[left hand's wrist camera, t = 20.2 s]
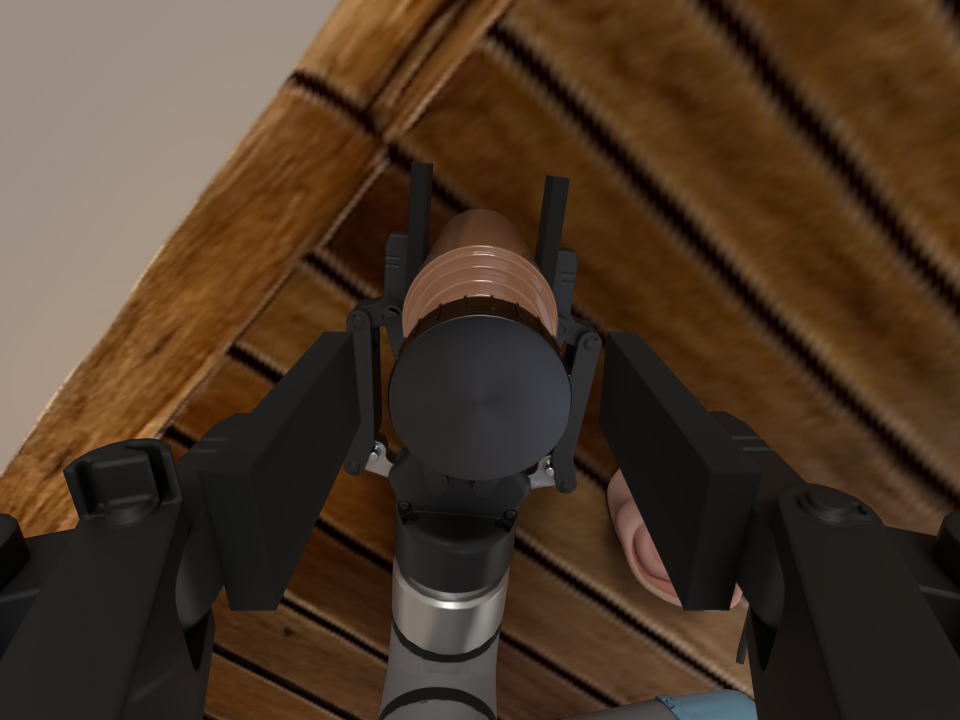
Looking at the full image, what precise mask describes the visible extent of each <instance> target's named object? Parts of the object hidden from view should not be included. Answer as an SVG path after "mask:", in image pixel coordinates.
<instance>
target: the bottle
mask: <svg viewBox="0 0 960 720" xmlns="http://www.w3.org/2000/svg"><path fill="white" fill-rule="evenodd" d="M466 295H467V297H479V296H481V297H490V295H493V296H494V298H498V299H503V300H506V301H509V302H512V303H514V304H515V303H516V302H517V303H519V306H520V307H523V308H524V309H526V310H527V311H529V312H530V313H532V314H533V315H534V316H535V317H537V316H539V317H540V319H541V322H542V323H543V325H544V326H545V327H546V328H547V329H548V331H549V332H550V334H551V335H554V336H555V338H556V335H557V326H558V313H557V306H556V302H555V299H554V295H553V293H552V291H551V288H550V286H549V284H548V282H547V281H546V279H545V277H544V275H543V273H542V272H541V270H540V268H539V266H538V264H537V263H536V261H535V259H534V257H533V255H532V254H531V252H530V250H529V248H528V246H527V245H526V243H525V241H524V239H523V237H522V236H521V234H520V232H519V230H518V229H517V227H516V226H515V225H514V224H513V223H512V222H511V221H510V220H509V219H508V218H506V217H505V216H504V215H502V214H500V213H498V212H495V211H492V210H487V209H473V210H468V211H465V212H462V213H460V214H458V215H456V216H455V217H454V218H452V219H451V220H450V221H449V222H448V223H447V224H446V225H445V226H444V227H443V229H442V230H441V232H440V234H439V235H438V237H437V239H436V241H435V243H434V244H433V246H432V248H431V250H430V252H429V253H428V255H427V257H426V259H425V261H424V262H423V264H422V266H421V268H420V270H419V271H418V273H417V275H416V277H415V279H414V280H413V282H412V284H411V286H410V288H409V290H408V293H407V295H406V298H405V302H404V305H403V312H402V327H403V336H404V337H408V335H409V334H410V332H411V331H412V329H413V328H414V327H415V326H416V324H417V321H418V319H419V318H420V317H421V318H423V317H425V316H426V315H427V314H428V313H430V312H431V311H433V310H434V309H436V308H437V307H438V306H439V304H440V303H442V305H443V304H446V303H448V302H451V301H454V300H457V299H462V298H464V296H466Z"/></svg>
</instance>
